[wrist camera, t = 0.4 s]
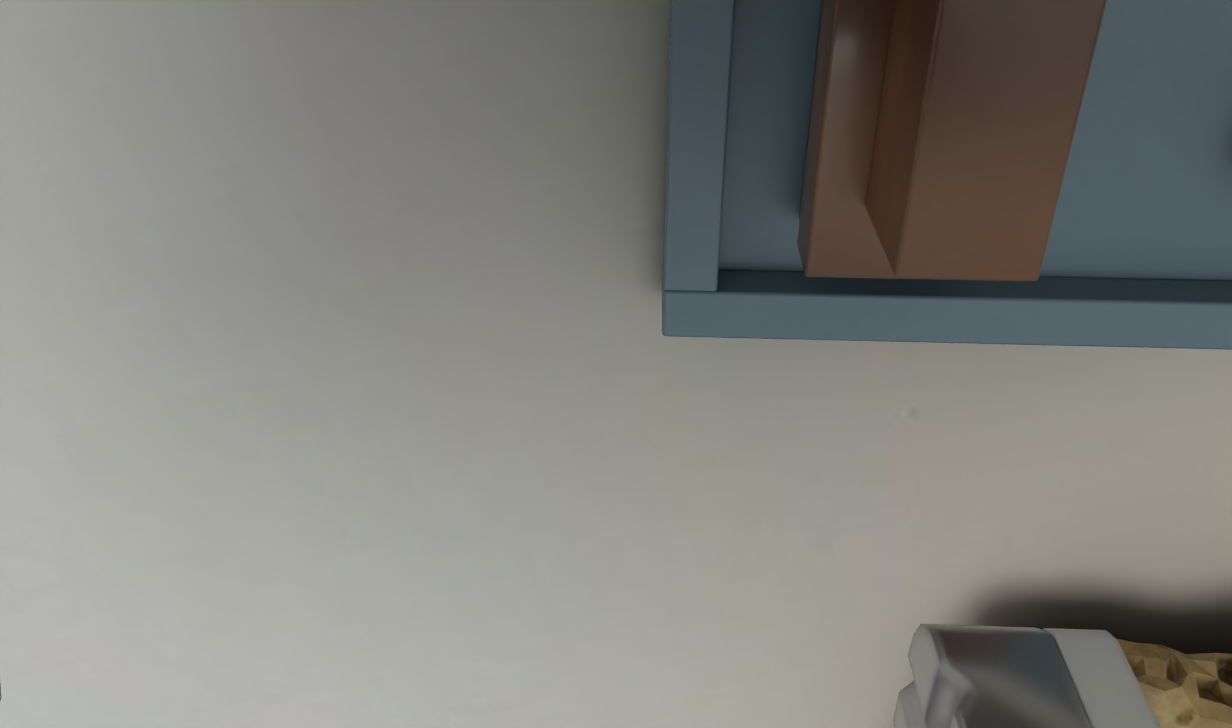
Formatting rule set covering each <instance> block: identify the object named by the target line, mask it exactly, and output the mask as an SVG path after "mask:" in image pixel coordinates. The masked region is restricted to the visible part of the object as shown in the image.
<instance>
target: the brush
mask: <svg viewBox="0 0 1232 728" xmlns="http://www.w3.org/2000/svg"><path fill="white" fill-rule="evenodd" d="M1106 2H1107V0H822V1H821V10H820V20H819V29H818V39H817V48H816V58H815V67H814V77H813V86H812V96H811V105H810V115H809V125H808V134H807V144H806V153H805V163H804V172H803V182H802V191H801V201H800V210H799V219H800V222H799V232H798V241H797V246H798V250H799V254H800V258H801V262H802V265H803V269H804V273H805V276H807V277H839V278H885V279H932V280H979V281H1037V280H1038V278H1039V274H1040V270H1041V266H1042V262H1043V258H1044V254H1045V250H1046V246H1047V242H1048V238H1049V234H1050V230H1051V226H1052V221H1053V217H1054V213H1055V209H1056V205H1057V201H1058V197H1059V193H1060V189H1061V185H1062V181H1063V177H1064V173H1065V169H1066V165H1067V161H1068V156H1069V152H1070V148H1071V144H1072V140H1073V136H1074V132H1075V128H1076V124H1077V120H1078V116H1079V112H1080V108H1081V104H1082V100H1083V96H1084V91H1085V87H1086V83H1087V79H1088V75H1089V71H1090V67H1091V63H1092V59H1093V55H1094V51H1095V47H1096V43H1097V39H1098V35H1099V31H1100V26H1101V22H1102V18H1103V14H1104V10H1105V6H1106Z"/></svg>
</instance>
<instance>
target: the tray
mask: <svg viewBox="0 0 1232 728" xmlns="http://www.w3.org/2000/svg"><path fill="white" fill-rule="evenodd" d="M821 1H822V0H671V24H670V57H669V90H668V122H667V155H666V187H665V220H664V252H663V285H662V333H663V335H664V336H678V337H721V338H764V339H807V340H850V341H893V342H935V343H978V344H1021V345H1064V346H1107V347H1150V348H1192V349H1232V0H1107V2H1106V6H1105V10H1104V14H1103V18H1102V22H1101V26H1100V31H1099V35H1098V39H1097V43H1096V47H1095V51H1094V55H1093V59H1092V63H1091V67H1090V71H1089V75H1088V79H1087V83H1086V87H1085V91H1084V96H1083V100H1082V104H1081V108H1080V112H1079V116H1078V120H1077V124H1076V128H1075V132H1074V136H1073V140H1072V144H1071V148H1070V152H1069V156H1068V161H1067V165H1066V169H1065V173H1064V177H1063V181H1062V185H1061V189H1060V193H1059V197H1058V201H1057V205H1056V209H1055V213H1054V217H1053V221H1052V226H1051V230H1050V234H1049V238H1048V242H1047V246H1046V250H1045V254H1044V258H1043V262H1042V266H1041V270H1040V274H1039V278H1038V280H1037V281H979V280H932V279H885V278H839V277H807V276H805V273H804V269H803V265H802V262H801V258H800V254H799V250H798V246H797V241H798V232H799V222H800V219H799V210H800V201H801V191H802V182H803V172H804V163H805V153H806V144H807V134H808V125H809V115H810V105H811V96H812V86H813V77H814V67H815V58H816V48H817V39H818V29H819V20H820V10H821Z"/></svg>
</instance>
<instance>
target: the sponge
mask: <svg viewBox="0 0 1232 728" xmlns="http://www.w3.org/2000/svg"><path fill="white" fill-rule="evenodd" d="M1117 640H1118V642H1119V644H1120V646H1121V648H1122V650H1123V652H1124V654H1125V656H1126V658H1127V660H1128V662H1129V664H1130V666H1131V668H1132V670H1133V672H1134V674H1135V676H1136V678H1137V680H1138V682H1139V684H1140V686H1141V688H1142V690H1143V692H1144V694H1145V696H1146V698H1147V700H1148V702H1149V704H1150V706H1151V708H1152V710H1153V712H1154V714H1155V716H1156V718H1157V720H1158V722H1159V724H1160V726H1161V728H1232V654H1226V653H1202V654H1184V653H1181V652H1179V651H1176V650H1174V649H1171V648H1168V647H1166V646H1163V645H1159V644H1147V643H1136V642H1130V641H1126V640H1121V639H1117Z"/></svg>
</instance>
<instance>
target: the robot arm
mask: <svg viewBox="0 0 1232 728" xmlns="http://www.w3.org/2000/svg"><path fill="white" fill-rule="evenodd" d="M908 657H909V661H910V665H911V669H912V673H913V678H914V681H913V682H912V683H910V684H909V685H908V686H906V687H905V688H904V689H902V690H901V691H900V692H899V696H898V701H897V706H896V711H895V716H894V728H1161V726H1160V724H1159V722H1158V720H1157V718H1156V716H1155V714H1154V712H1153V710H1152V708H1151V706H1150V704H1149V702H1148V700H1147V698H1146V696H1145V694H1144V692H1143V690H1142V688H1141V686H1140V684H1139V682H1138V680H1137V678H1136V676H1135V674H1134V672H1133V670H1132V668H1131V666H1130V664H1129V662H1128V660H1127V658H1126V656H1125V654H1124V652H1123V650H1122V648H1121V646H1120V644H1119V642H1118V640H1117V639H1116V638H1114V637H1113V636H1112V635H1111V634H1110V633H1109V632H1108V631H1107V630H1087V629H1058V628H1043V629H1038V628H1035V627H1003V626H972V625H940V624H920V626H919V627H918V629H917V630H916V632H915V633H914V635H913V639H912V643H911V646H910V650H909V654H908ZM0 700H1V685H0Z"/></svg>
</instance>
